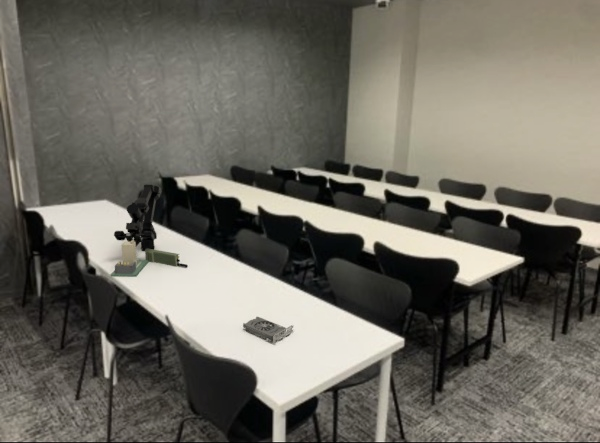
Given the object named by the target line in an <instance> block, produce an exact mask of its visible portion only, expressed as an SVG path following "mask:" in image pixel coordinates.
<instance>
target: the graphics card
mask: <svg viewBox="0 0 600 443" xmlns="http://www.w3.org/2000/svg"><path fill="white" fill-rule="evenodd" d="M242 326H243V329H244V328H245V329H246V330H247V331H249V333H251V334H254V335H256V336H259V337H260V338H262V339H264V340H266V341H265V342H266V343H267V344H270V345H274V346H275V345H276V343H277V342H278V341H283V339H284V338H288V337H289V336H290V335H291V333H294V329H293V328H294V325H293V324H291V325H289V326H288V327H285V326H283V325H279V324H278V323H275V322H272V321H270V320H267V319H265V318H262V317H260V316H256V317H255V318H253V319H250V320H248V321H247V322H246V323H244V322H243V323H242Z"/></svg>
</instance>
